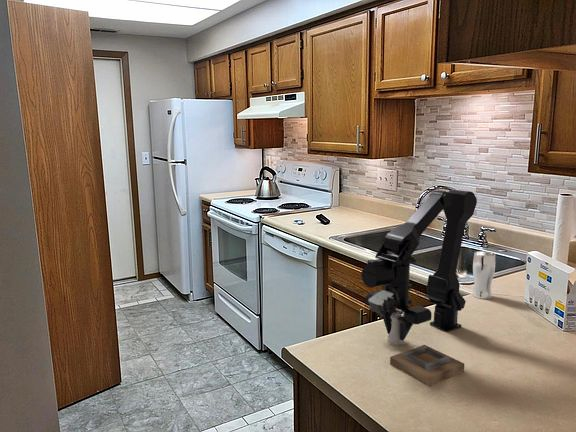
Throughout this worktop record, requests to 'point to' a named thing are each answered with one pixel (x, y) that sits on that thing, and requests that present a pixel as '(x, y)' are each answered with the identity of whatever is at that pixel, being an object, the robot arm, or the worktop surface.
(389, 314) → the robot arm
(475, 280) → the beer glass
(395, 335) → the rook chess piece
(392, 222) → the worktop surface
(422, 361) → the plinth
